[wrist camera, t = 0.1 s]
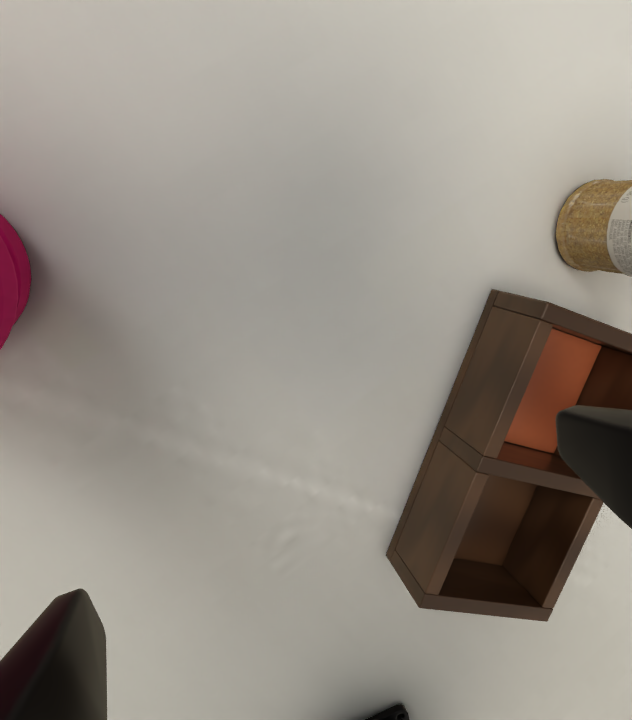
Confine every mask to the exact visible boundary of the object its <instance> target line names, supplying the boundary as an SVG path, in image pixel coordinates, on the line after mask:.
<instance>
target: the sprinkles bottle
mask: <svg viewBox="0 0 632 720" xmlns="http://www.w3.org/2000/svg"><path fill="white" fill-rule="evenodd" d="M556 240H557V243H558V249H559V251H560V253H561V256H562V258H563V259H564V260H565V261H566V263H567V264H568V265H570V266H572V267H573V268H575V269H578V270H581V271H588V272H591V271H597V270H601V271H606V272H614V273H621V274H625V275H628V276H632V180H628V181H613V180H607V179H603V180H593V181H591V182H589V183H586V184H584V185H582V186H581V187H580V188H578V189H577V190H576V191H575V192H574V193H573V194H572V195H570V196H569V198H568V199H567V201H566V203H565V204H564V206H563V208H562V209H561V212H560V214H559V217H558V222H557V229H556Z"/></svg>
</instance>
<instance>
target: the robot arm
mask: <svg viewBox="0 0 632 720" xmlns="http://www.w3.org/2000/svg"><path fill="white" fill-rule="evenodd" d="M555 421H556V433H557V446H558V451H559V454H560V456H561V458H562V459H563V461H564V462H565V463H566V464H567V465H568V466H569V467H570V468H571V469H572V470H573V471H574V472H575V473H576V474H577V475H578V476H579V477H580V478H581V479H582V480H583V481H584V483H585V484H586V485H587V486H588V487H589V488H590V489H591V490H592V491H593V492H594V493H595V494H596V495H597V496H598V497H599V498H600V499H601V500H602V501H603V502H604V503H605V504H606V505H607V506H608V507H609V508H610V509H611V510H612V511H613V512H614V513H615V514H616V515H617V516H618V517H619V518H620V519H621V520H622V521H624V522H625V523H626V524H627V525H628V526H629V527H630V528H631V529H632V410H626V409H615V408H604V407H593V406H583V405H575V406H572V407H569V408H566V409H564V410H561V411H559V412H558V413H557V415H556V419H555ZM0 720H107V673H106V635H105V630H104V627H103V624H102V622H101V620H100V618H99V616H98V614H97V612H96V610H95V608H94V606H93V603H92V601H91V599H90V597H89V595H88V594H87V592H86V591H85V590H83V589H77V590H74V591H71V592H68V593H66V594H63V595H60V596H58V597H56V598H55V599H54V600H53V601H52V602H51V604H50V605H49V606H48V607H47V608H46V609H45V610H44V612H43V613H42V614H41V615H40V616H39V617H38V618H37V620H36V621H35V622H34V623H33V624H32V625H31V626H30V628H29V629H28V630H27V631H26V632H25V633H24V634H23V636H22V637H21V638H20V639H19V640H18V641H17V642H16V644H15V645H14V646H13V647H12V648H11V649H10V650H9V652H8V653H7V654H6V655H5V656H4V657H3V658H2V660H1V661H0ZM365 720H409V716H408V713H407V710H406V708H405V706H404V705H402V704H399V705H396V706H394V707H391V708H389V709H387V710H385V711H383V712H381V713H378V714H376V715H374V716H372V717H370V718H368V719H365Z"/></svg>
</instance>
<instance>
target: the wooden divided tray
mask: <svg viewBox="0 0 632 720" xmlns="http://www.w3.org/2000/svg"><path fill="white" fill-rule="evenodd" d="M575 405H583V406H593V407H604V408H615V409H626V410H632V334H631V333H628V332H625V331H623V330H620V329H618V328H615V327H612V326H610V325H607V324H604V323H602V322H599V321H597V320H594V319H591V318H589V317H586V316H583V315H581V314H578V313H576V312H573V311H570V310H568V309H565V308H562V307H560V306H557V305H555V304H552V303H549V302H546V301H541V300H537V299H533V298H529V297H524V296H520V295H516V294H511V293H507V292H503V291H499V290H494V289H492V290H491V293H490V295H489V298H488V300H487V303H486V305H485V308H484V310H483V313H482V315H481V318H480V320H479V323H478V325H477V328H476V330H475V333H474V335H473V338H472V340H471V343H470V345H469V348H468V350H467V353H466V355H465V358H464V360H463V363H462V365H461V368H460V370H459V373H458V376H457V378H456V381H455V383H454V386H453V388H452V391H451V393H450V396H449V398H448V401H447V403H446V406H445V408H444V411H443V413H442V416H441V418H440V421H439V423H438V426H437V428H436V431H435V433H434V436H433V438H432V441H431V443H430V446H429V448H428V451H427V453H426V456H425V458H424V461H423V463H422V466H421V468H420V471H419V473H418V476H417V478H416V481H415V483H414V486H413V488H412V491H411V493H410V496H409V498H408V501H407V503H406V506H405V509H404V511H403V514H402V516H401V519H400V521H399V524H398V526H397V529H396V531H395V534H394V536H393V539H392V541H391V544H390V546H389V549H388V551H387V554H386V556H387V558H388V559H389V561H390V563H391V564H392V566H393V567H394V569H395V570H396V572H397V574H398V575H399V577H400V578H401V580H402V582H403V583H404V585H405V586H406V588H407V589H408V591H409V593H410V594H411V596H412V597H413V599H414V600H415V602H416V604H417V605H418V607H419V608H425V609H435V610H444V611H453V612H463V613H472V614H482V615H491V616H500V617H510V618H519V619H528V620H538V621H548V619H549V617H550V615H551V613H552V610H553V609H552V608H554V606H555V604H556V602H557V599H558V597H559V595H560V593H561V591H562V589H563V587H564V585H565V583H566V580H567V578H568V576H569V574H570V572H571V570H572V568H573V566H574V564H575V561H576V559H577V557H578V555H579V553H580V551H581V549H582V547H583V545H584V543H585V540H586V538H587V536H588V534H589V532H590V530H591V528H592V526H593V524H594V521H595V519H596V517H597V515H598V513H599V511H600V509H601V507H602V505H603V501H602V500H601V499H600V498H599V497H598V496H597V495H596V494H595V493H594V492H593V491H592V490H591V489H590V488H589V487H588V486H587V485H586V484H585V483H584V481H583V480H582V479H581V478H580V477H579V476H578V475H577V474H576V473H575V472H574V471H573V470H572V469H571V468H570V467H569V466H568V465H567V464H566V463H565V462H564V461H563V459H562V458H561V456H560V454H559V451H558V446H557V433H556V421H555V419H556V415H557V413H558V412H559V411H561V410H564V409H566V408H569V407H572V406H575Z"/></svg>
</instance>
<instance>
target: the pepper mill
mask: <svg viewBox="0 0 632 720" xmlns="http://www.w3.org/2000/svg"><path fill="white" fill-rule="evenodd" d="M30 285H31V270H30V263H29V260H28V256H27V253H26V250H25V248H24V246H23V243H22V241H21V239H20V238H19V236H18V234H17V233H16V231H15V230H14V229H13V227H12V226H11V225H10V224H9V222H8V221H7V220H6V219H5V218H4V217H3V216H2V215H1V214H0V349H1V348H2V346H3V345H4V343H5V341H6V340H7V338H8V336H9V333H10V331H11V328H12V326H13V325H14V324H15V322H16V321H17V320H18V318H19V317H20V315H21V314H22V312H23V310H24V308H25V306H26V304H27V301H28V298H29V292H30Z"/></svg>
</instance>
